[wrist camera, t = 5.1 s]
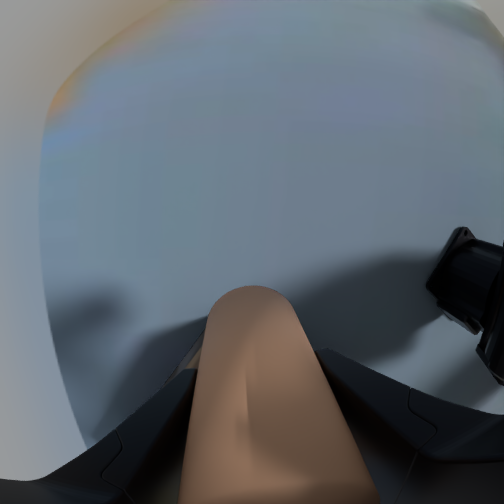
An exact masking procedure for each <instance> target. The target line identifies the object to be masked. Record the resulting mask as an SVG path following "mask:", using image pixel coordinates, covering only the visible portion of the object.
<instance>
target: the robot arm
mask: <svg viewBox="0 0 504 504" xmlns="http://www.w3.org/2000/svg"><path fill="white" fill-rule="evenodd" d="M464 231H465V233H464ZM432 284H433V285H432ZM431 285H432V287H431ZM426 289H427V290H428V291H429V292H430V293H431V294H432V295H433V296H434V297H435V298H436V299H437V300H438V302H437V306H438V307H439V308H440V309H441V310H442V311H443V312H444V313H445V314H446V315H447V316H448V317H449V318H451V319H452V320H453V321H455V322H456V323H458V324H459V325H461V326H462V327H464V328H465V329H466V330H468V331H469V332H471V333H472V334H474V335H477V334H478V333H479V332H480V331H482V332H483V333H482V336H481V339H480V342H479V344H478V345H477V348H476V352H477V353H478V355H479V356H480V358H481V359H482V361H483V362H484V363H485V365H486V366H487V368H488V369H489V371H490V372H491V374H492V375H493V377H494V378H495V379H496V380H497V382H498V383H499V384H500V385H503V386H504V242H503V247H502V246H499V245H495V244H492V243H489V242H485V241H482V240H479V239H476V238H475V237H474V235H473V234H472V233H471V231H470V230H469V229H468V228H467V227H461V228H460V230H459V232H458V233H457V235H456V237H455V239H454V240H453V242H452V244H451V245H450V247H449V249H448V250H447V252H446V254H445V255H444V257H443V259H442V260H441V262H440V263H439V265H438V266H437V268H436V270H435V271H434V273H433V274H432V276H431V277H430V279H429V280H428V282H427V284H426ZM315 355H316V358H317V360H318V362H319V364H320V366H321V368H322V370H323V373H324V375H325V377H326V379H327V381H328V383H329V386H330V388H331V390H332V392H333V394H334V396H335V398H336V401H337V403H338V405H339V407H340V409H341V412H342V414H343V416H344V418H345V420H346V422H347V425H348V427H349V429H350V431H351V433H352V436H353V438H354V440H355V442H356V444H357V447H358V449H359V451H360V453H361V456H362V458H363V460H364V462H365V464H366V467H367V469H368V471H369V473H370V476H371V478H372V480H373V482H374V485H375V487H376V489H377V491H378V494H379V496H380V504H504V415H497V414H491V413H487V412H483V411H479V410H475V409H472V408H468V407H464V406H461V405H457V404H454V403H451V402H448V401H445V400H442V399H439V398H436V397H433V396H431V395H428V394H426V393H423V392H421V391H419V390H416V389H414V388H411V389H410V387H409V386H407V385H405V384H403V383H400V382H398V381H396V380H394V379H391V378H389V377H387V376H385V375H383V374H381V373H378V372H376V371H374V370H372V369H370V368H368V367H366V366H364V365H361V364H359V363H357V362H355V361H353V360H351V359H349V358H347V357H345V356H343V355H341V354H339V353H337V352H335V351H333V350H331V349H322V350H317V351H315ZM197 373H198V369H197V368H187V369H183V370H182V371H181V372H180V373H179V374H177V375H176V376H175V377H174V378H173V379H172V380H171V381H170V382H168V383H167V384H166V385H165V386H164V387H163V388H162V389H161V390H159V391H158V392H157V393H156V394H155V395H154V396H153V397H151V398H150V399H149V400H148V401H147V402H146V403H144V404H143V405H142V406H141V407H140V408H139V409H138V410H136V411H135V412H134V413H133V414H132V415H131V416H129V417H128V418H127V419H126V420H125V421H123V422H122V423H121V424H120V425H119V426H118V427H116V430H113V431H111V432H110V433H109V434H108V435H107V436H105V437H104V438H103V439H102V440H100V441H99V442H98V443H96V444H95V445H94V446H92V447H91V448H90V449H88V450H87V451H85V452H84V453H82V454H81V455H79V456H78V457H76V458H75V459H73V460H72V461H70V462H68V463H67V464H65V465H64V466H62V467H60V468H59V469H57V470H55V471H54V472H52V473H51V474H49V475H47V476H45V477H43V478H40V479H37V480H32V481H18V480H7V479H0V504H177V503H178V496H179V488H180V481H181V474H182V467H183V460H184V453H185V447H186V440H187V434H188V427H189V421H190V415H191V409H192V403H193V397H194V391H195V385H196V379H197Z"/></svg>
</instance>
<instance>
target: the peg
mask: <svg viewBox="0 0 504 504" xmlns="http://www.w3.org/2000/svg"><path fill="white" fill-rule="evenodd" d="M177 504H380V496H379V494H378V491H377V489H376V487H375V485H374V482H373V480H372V478H371V476H370V473H369V471H368V469H367V467H366V464H365V462H364V460H363V458H362V456H361V453H360V451H359V449H358V447H357V444H356V442H355V440H354V438H353V436H352V433H351V431H350V429H349V427H348V425H347V422H346V420H345V418H344V416H343V414H342V412H341V409H340V407H339V405H338V403H337V401H336V398H335V396H334V394H333V392H332V390H331V388H330V386H329V383H328V381H327V379H326V377H325V375H324V373H323V370H322V368H321V366H320V364H319V362H318V360H317V358H316V355H315V353H314V351H313V349H312V347H311V345H310V343H309V341H308V338H307V336H306V334H305V332H304V330H303V328H302V326H301V324H300V321H299V319H298V317H297V315H296V313H295V311H294V309H293V307H292V305H291V304H290V302H289V301H288V300H287V299H286V298H285V297H284V296H283V295H281V294H280V293H278V292H277V291H275V290H272V289H270V288H266V287H262V286H244V287H240V288H237V289H234V290H232V291H230V292H228V293H226V294H225V295H223V296H222V297H221V298H220V299H218V301H217V302H216V303H215V304H214V305H213V307H212V308H211V311H210V313H209V315H208V319H207V324H206V329H205V334H204V340H203V345H202V351H201V356H200V362H199V368H198V373H197V379H196V385H195V391H194V397H193V403H192V409H191V415H190V421H189V427H188V434H187V440H186V447H185V453H184V460H183V467H182V474H181V481H180V488H179V496H178V503H177Z"/></svg>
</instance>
